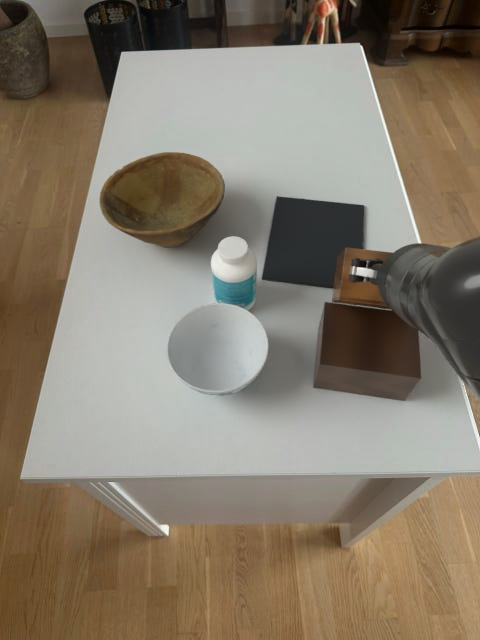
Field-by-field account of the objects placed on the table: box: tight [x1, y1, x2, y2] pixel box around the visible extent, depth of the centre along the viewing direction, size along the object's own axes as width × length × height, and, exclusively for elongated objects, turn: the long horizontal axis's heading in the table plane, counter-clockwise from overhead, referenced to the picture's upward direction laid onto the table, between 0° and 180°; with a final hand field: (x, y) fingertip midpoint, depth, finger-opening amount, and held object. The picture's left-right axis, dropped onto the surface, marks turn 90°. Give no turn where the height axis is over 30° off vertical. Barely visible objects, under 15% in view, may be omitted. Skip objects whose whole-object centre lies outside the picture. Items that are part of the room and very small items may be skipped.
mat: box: [261, 195, 365, 289], centre depth 86 cm, size 18×22×1 cm
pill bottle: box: [210, 235, 258, 311], centre depth 73 cm, size 8×7×14 cm
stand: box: [312, 301, 422, 402], centre depth 68 cm, size 14×11×8 cm
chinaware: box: [166, 302, 270, 397], centre depth 68 cm, size 15×15×8 cm
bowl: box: [99, 151, 226, 248], centre depth 84 cm, size 22×23×10 cm
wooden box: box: [331, 247, 393, 310], centre depth 63 cm, size 12×10×7 cm
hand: (390, 268), depth 57 cm, fingers closed
